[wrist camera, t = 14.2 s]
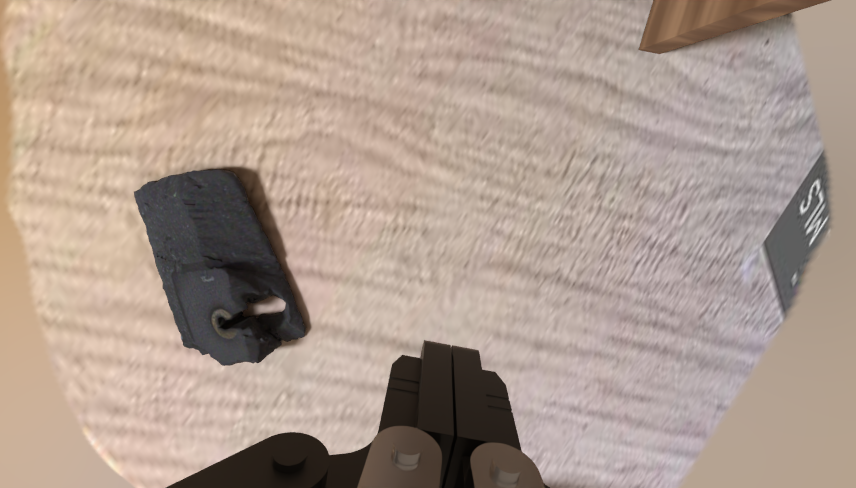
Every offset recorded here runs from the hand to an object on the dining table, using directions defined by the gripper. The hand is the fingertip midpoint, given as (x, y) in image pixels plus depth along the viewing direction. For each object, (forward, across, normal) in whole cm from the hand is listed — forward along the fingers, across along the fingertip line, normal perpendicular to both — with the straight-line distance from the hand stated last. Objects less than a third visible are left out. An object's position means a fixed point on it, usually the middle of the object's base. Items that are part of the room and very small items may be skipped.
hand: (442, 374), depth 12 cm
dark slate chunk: (+36, +23, +14) cm, 44 cm away
